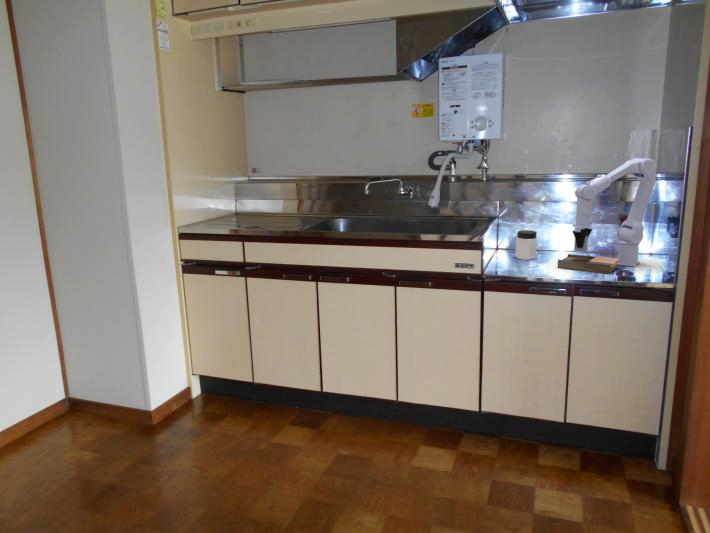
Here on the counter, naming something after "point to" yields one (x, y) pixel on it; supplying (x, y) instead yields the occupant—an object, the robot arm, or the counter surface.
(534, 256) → the jar
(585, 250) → the block
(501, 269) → the counter surface
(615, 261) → the lid
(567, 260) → the board
